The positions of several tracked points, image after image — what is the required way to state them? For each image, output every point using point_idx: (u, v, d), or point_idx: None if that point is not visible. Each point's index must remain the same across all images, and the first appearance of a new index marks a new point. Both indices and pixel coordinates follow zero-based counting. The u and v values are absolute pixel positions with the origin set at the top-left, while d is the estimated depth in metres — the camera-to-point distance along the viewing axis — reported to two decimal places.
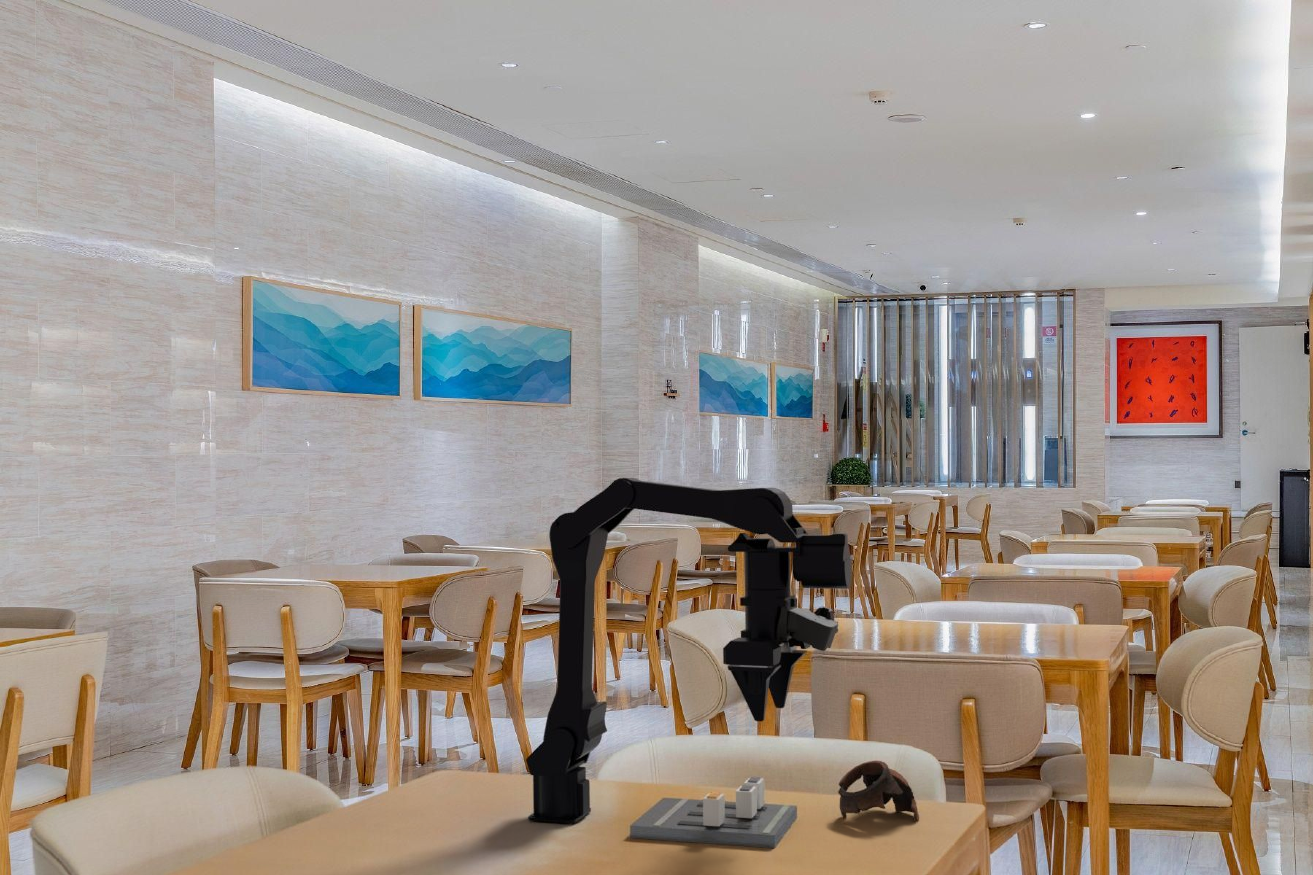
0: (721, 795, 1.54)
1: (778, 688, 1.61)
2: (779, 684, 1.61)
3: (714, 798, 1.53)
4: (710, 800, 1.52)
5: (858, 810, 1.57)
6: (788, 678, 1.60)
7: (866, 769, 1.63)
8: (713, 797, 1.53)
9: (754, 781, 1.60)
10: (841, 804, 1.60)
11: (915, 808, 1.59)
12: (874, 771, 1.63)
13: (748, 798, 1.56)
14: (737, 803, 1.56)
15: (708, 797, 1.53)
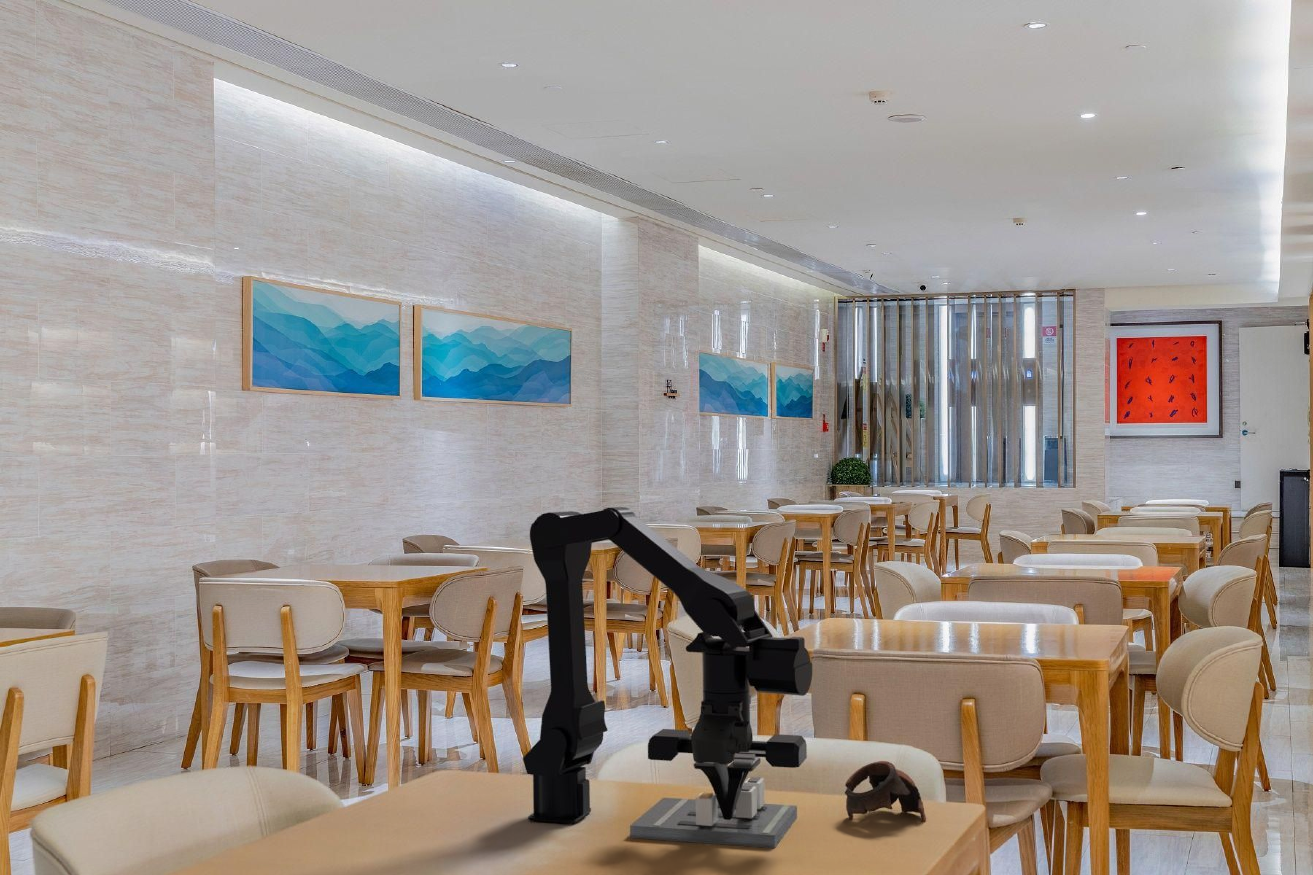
0: (714, 795, 1.54)
1: None
2: None
3: (707, 798, 1.53)
4: (703, 800, 1.53)
5: (865, 811, 1.57)
6: (728, 790, 1.52)
7: (872, 770, 1.63)
8: (706, 797, 1.53)
9: (754, 781, 1.60)
10: (848, 805, 1.60)
11: (922, 809, 1.59)
12: (881, 772, 1.63)
13: (748, 798, 1.56)
14: (737, 803, 1.56)
15: (701, 797, 1.53)
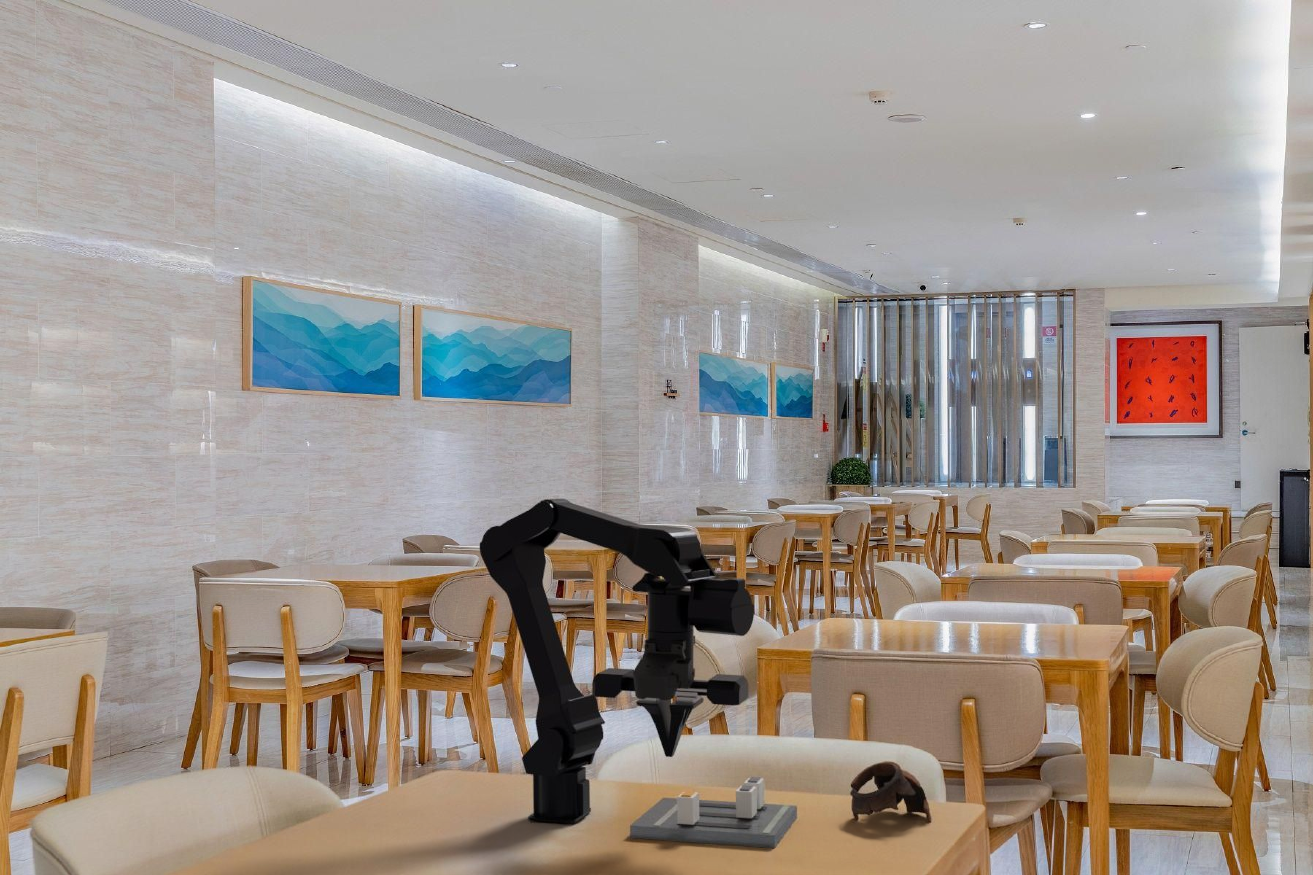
0: (695, 793, 1.55)
1: None
2: None
3: (688, 796, 1.54)
4: (684, 798, 1.53)
5: (871, 811, 1.57)
6: (670, 727, 1.55)
7: (878, 770, 1.62)
8: (687, 795, 1.54)
9: (754, 781, 1.60)
10: (853, 805, 1.59)
11: (927, 809, 1.59)
12: (886, 772, 1.63)
13: (748, 798, 1.56)
14: (737, 803, 1.56)
15: (682, 795, 1.54)
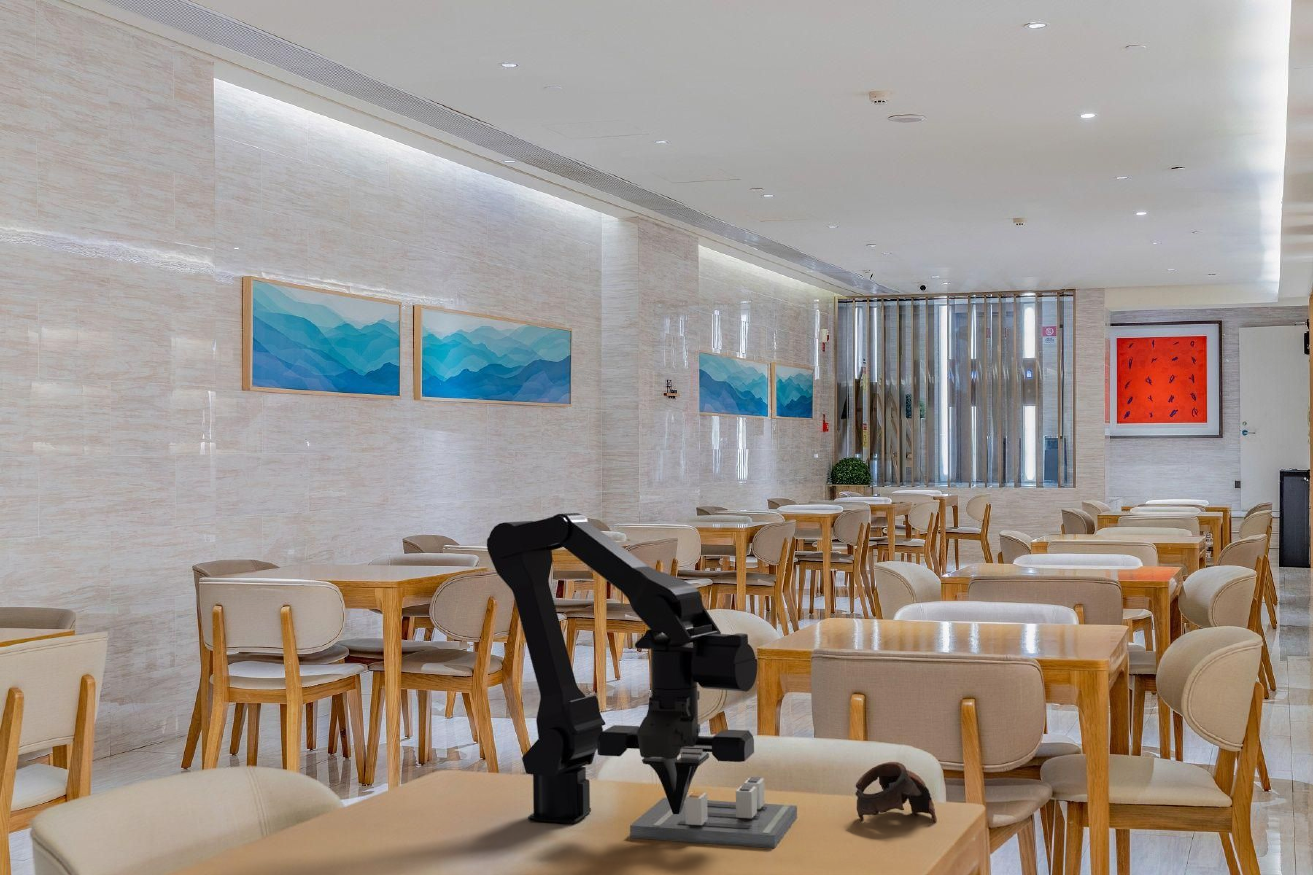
0: (704, 794, 1.55)
1: None
2: None
3: (696, 797, 1.53)
4: (692, 799, 1.53)
5: (876, 812, 1.56)
6: (676, 785, 1.54)
7: (883, 770, 1.62)
8: (695, 796, 1.53)
9: (754, 781, 1.60)
10: (858, 806, 1.59)
11: (933, 809, 1.58)
12: (891, 773, 1.63)
13: (748, 798, 1.56)
14: (737, 803, 1.56)
15: (690, 796, 1.53)
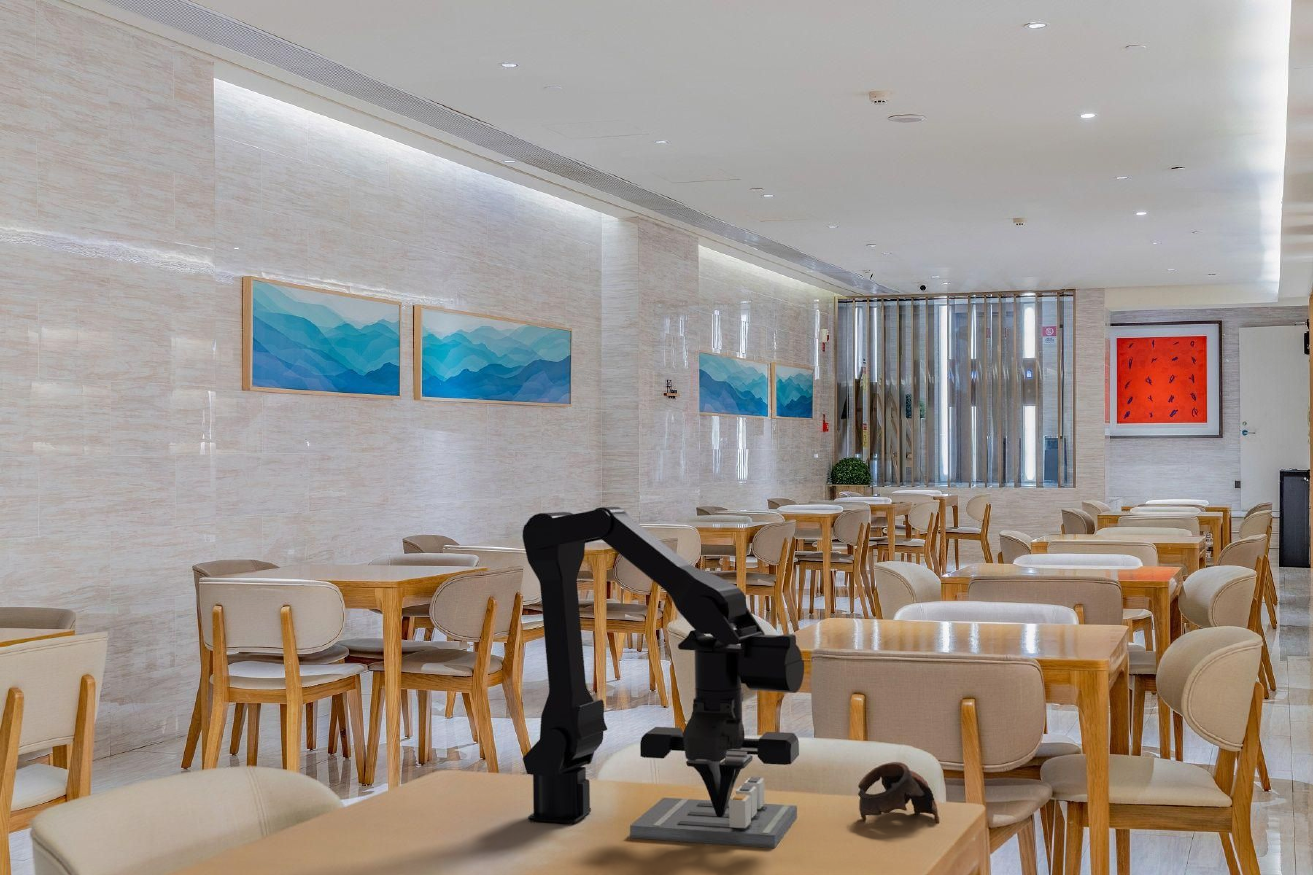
0: (747, 797, 1.53)
1: None
2: None
3: (740, 800, 1.52)
4: (736, 802, 1.51)
5: (879, 812, 1.56)
6: (720, 787, 1.52)
7: (885, 771, 1.62)
8: (739, 799, 1.52)
9: (754, 781, 1.60)
10: (861, 806, 1.59)
11: (936, 810, 1.58)
12: (893, 773, 1.62)
13: None
14: None
15: (734, 799, 1.52)
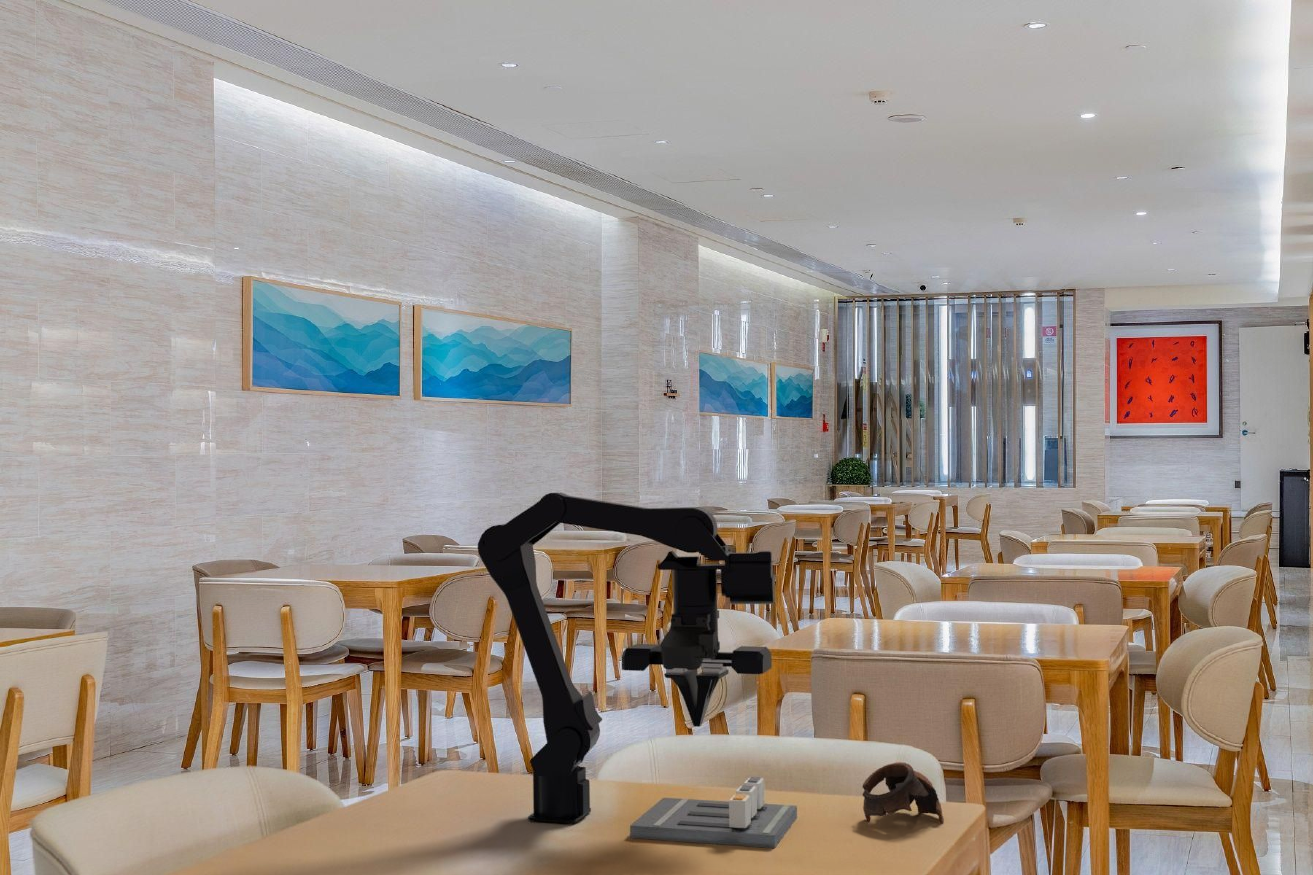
0: (747, 797, 1.53)
1: None
2: None
3: (740, 800, 1.52)
4: (736, 802, 1.51)
5: (884, 813, 1.56)
6: (697, 698, 1.61)
7: (889, 771, 1.62)
8: (739, 799, 1.52)
9: (754, 781, 1.60)
10: (865, 807, 1.59)
11: (940, 810, 1.58)
12: (897, 773, 1.62)
13: None
14: None
15: (734, 799, 1.52)
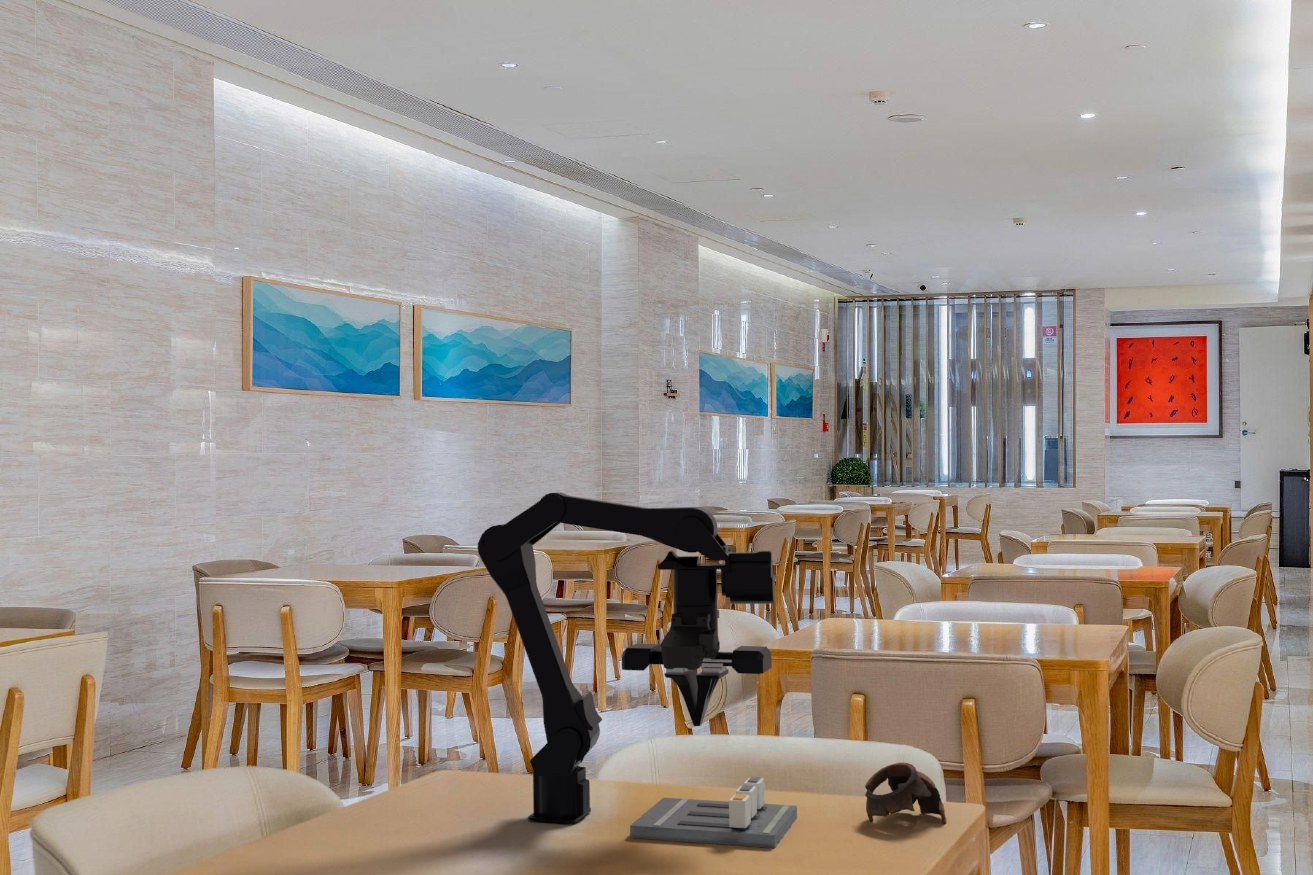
0: (747, 797, 1.53)
1: None
2: None
3: (740, 800, 1.52)
4: (736, 802, 1.51)
5: (887, 813, 1.56)
6: (697, 698, 1.61)
7: (892, 771, 1.61)
8: (739, 799, 1.52)
9: (754, 781, 1.60)
10: (868, 807, 1.59)
11: (943, 810, 1.58)
12: (900, 773, 1.62)
13: None
14: None
15: (734, 799, 1.52)
